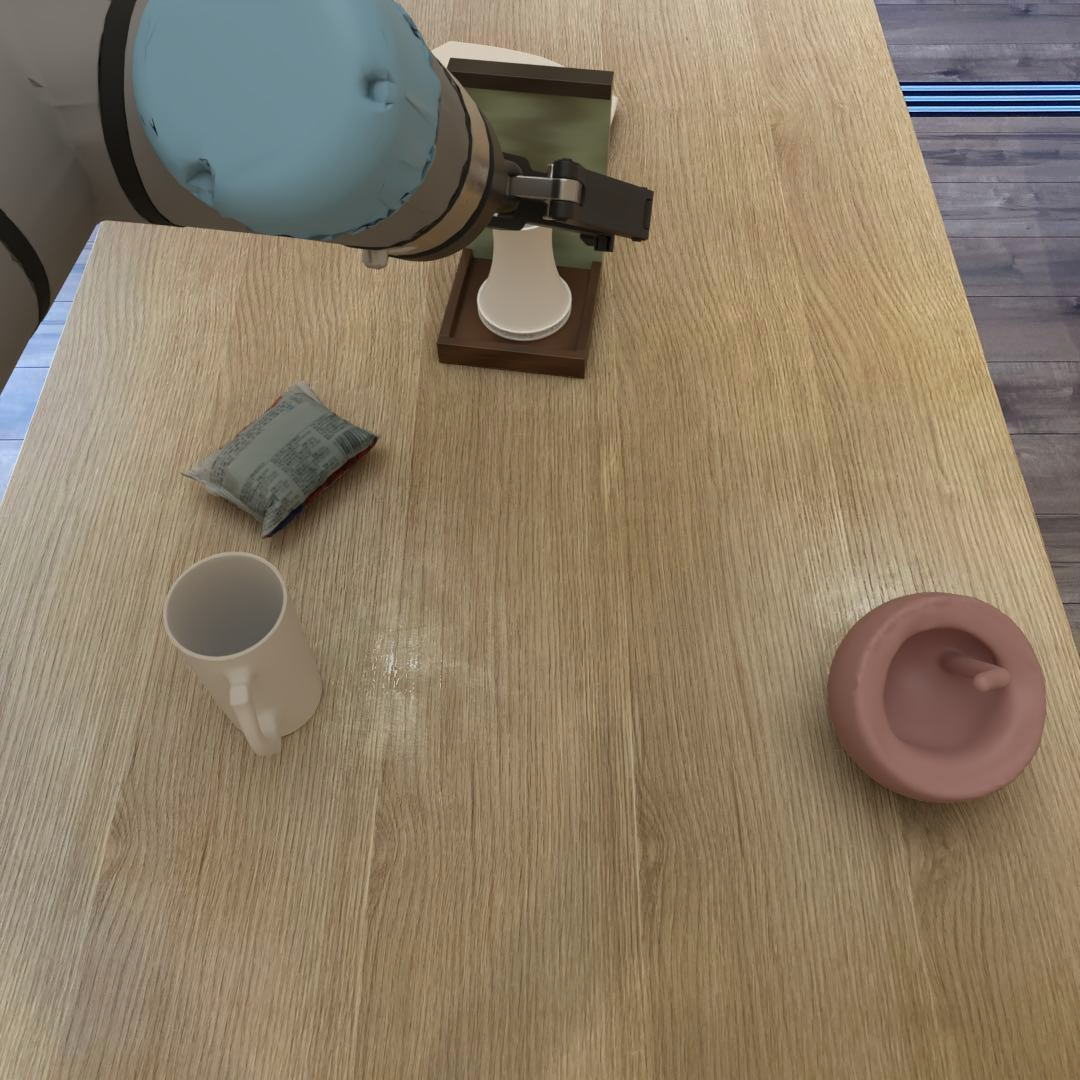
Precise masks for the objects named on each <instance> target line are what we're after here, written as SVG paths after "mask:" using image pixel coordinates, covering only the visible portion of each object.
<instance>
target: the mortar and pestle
mask: <svg viewBox="0 0 1080 1080" xmlns="http://www.w3.org/2000/svg"><path fill="white" fill-rule="evenodd" d="M1034 650H1035V649H1034V648H1033V647H1032V644H1031V642H1030V641H1029V639H1028V638H1027V636H1026V635H1025V633H1024V632H1023V630H1022V629H1021V628H1020V627H1019V626H1018V624H1016V622H1015V621H1014V620H1013V618H1011V617H1010V616H1008V615H1007V614H1006V613H1004V612H1002V610H1001V609H1000V608H998V607H995V606H994V605H992V604H991V603H988V602H986V601H984V600H982V599H979V598H977V597H975V596H970V595H963V594H957V593H952V592H943V591H942V592H941V591H924V592H923V591H922V592H916V593H910V594H905V595H902V596H899V597H898V596H897V597H895V598H893V599H890V600H887V601H885V602H882V603H881V604H879V605H878V606H876V607H874V608H872V609H871V610H870V611H868V612H867V613H866V614H864V615H863V616H861V617H860V618H859V619H858V620H857V621H856V622H855V623H854V624H853V625H852V627H850V629H849V630H848V631H847V633H846V634H845V635H844V637H843V638H842V640H841V642H839V645H838V647H837V648H836V650H835V653H834V655H833V658H832V661H831V663H830V667H829V672H828V677H827V686H826V689H827V690H826V694H827V695H826V699H827V708H828V712H829V717H830V720H831V721H830V722H831V724H832V727H833V730H834V732H835V735H836V736H837V738H838V740H839V742H840V744H841V746H842V747H843V749H844V750H845V753H846V754H847V755H848V756H849V758H850V759H851V760H852V762H854V764H855V765H856V766H857V767H858V768H859V769H860V770H861V771H862V772H863V773H864V774H865V775H867V776H868V777H869V778H870V779H872V780H873V781H875V782H876V783H877V784H879V785H880V786H882V787H884V788H886V789H887V790H889V791H891V792H893V793H895V794H897V795H900V796H902V797H906V798H908V799H912V800H916V801H920V802H925V803H932V804H957V803H958V804H959V803H964V802H965V803H966V802H970V801H974V800H978V799H981V798H984V797H987V796H989V795H993V794H994V793H996V792H998V791H1000V790H1002V789H1004V788H1005V787H1007V786H1008V785H1010V784H1012V783H1013V782H1014V781H1015V780H1016V779H1017V778H1018V777H1019V776H1020V775H1021V774H1022V773H1023V772H1024V771H1025V769H1026V768H1027V767H1028V765H1029V764H1031V763H1032V761H1033V759H1034V757H1035V755H1036V754H1037V752H1038V750H1039V748H1040V745H1041V742H1042V737H1043V734H1044V733H1043V732H1044V728H1045V724H1046V717H1047V716H1046V715H1047V698H1046V697H1047V696H1046V694H1047V693H1046V691H1047V690H1046V683H1045V678H1044V674H1043V670H1042V666H1041V663H1040V662H1039V659H1038V657H1037V654H1036V653H1035V651H1034Z"/></svg>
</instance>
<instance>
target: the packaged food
mask: <svg viewBox="0 0 1080 1080" xmlns="http://www.w3.org/2000/svg"><path fill="white" fill-rule="evenodd" d="M381 436H382V434H377V433H375V432H373V431H371V430H369V429H367V428H361V427H359V426H358V425H355V424H353V423H352V422H351V421H349V420H346V419H345V418H342V417H341V416H339V415H338V414H336V413H335V412H333V411H331V410H330V409H329V408H327V407H326V406H325V405H324V404H323V402H322V401H321V400H320V399H319V397H318V396H317V395H316V393H315V392H314V390H313V388H312V387H311V385H310V383H309V382H308V381H307V380H301V381H299V382H296V383H293V384H292V385H290V386H288V389H287V392H286V391H284V392H282V393H281V394H280V395H279V397H278V398H277V399H275V401H274V402H273V403H272V404H271V405H270V406H269V407H268V408H267V409H265V411H264V412H263V414H261V415H259V417H257V418H256V419H254V420H253V421H252V422H250V423H249V424H247V425H246V426H245V427H243V428H242V429H241V430H240V431H239V432H237V434H236V435H235V436H234V437H233V439H232V440H231V441H229V442H227V443H225V444H223V445H222V446H220V447H218V449H216V450H215V451H214V452H211V453H209V454H208V455H207V456H206V457H204V459H202V460H201V461H199V462H198V463H197V464H196V465H195V466H194V467H193V468H191V469H189V471H188V472H186V473H183V472H181V471H180V472H179V473H180V475H181V476H184V477H186V478H189V479H191V480H194V481H196V482H200V483H202V484H204V485H205V489H206V492H207V493H208V494H209V495H211V496H214V497H216V498H220V497H221V498H222V499H224V500H225V501H227V502H229V504H231V505H233V506H234V507H235V508H238V509H240V510H241V511H244V512H246V513H248V514H250V515H251V516H252V517H253V518H254V519H255V521H257V522H258V523H260V524H262V526H261V531H260V532H261V535H260V539H262V540H265V539H270V538H272V537H273V536H274V535H276V534H277V533H279V532H280V531H282V530H283V529H285V528H286V527H287V526H288V525H289V524H291V523H292V521H293V520H295V519H296V518H297V517H298V516H299V515H300V514H301V513H302V512H303V511H304V510H305V509H306V507H308V506H309V505H310V504H311V503H312V502H313V501H315V499H316V498H317V497H318V496H319V495H320V493H322V492H323V491H324V490H326V489H327V488H329V487H330V486H331V485H332V484H334V483H335V482H336V481H337V480H339V479H340V478H341V477H342V476H343V475H344V474H346V472H347V471H349V470H351V469H352V468H353V467H354V466H356V464H357V463H359V462H361V460H362V459H363V458H365V457H367V456H368V455H369V454H370V452H371V451H372V450H373V448H374V447H375V446H376V444H378V441H379V439H380V438H381Z"/></svg>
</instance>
